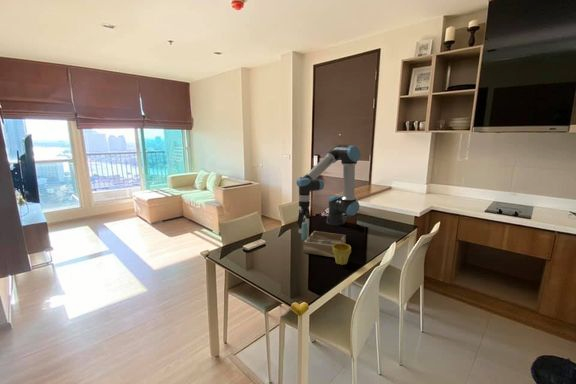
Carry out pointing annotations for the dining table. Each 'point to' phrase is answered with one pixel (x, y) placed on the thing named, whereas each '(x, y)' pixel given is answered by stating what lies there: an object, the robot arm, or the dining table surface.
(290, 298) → the dining table surface
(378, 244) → the dining table surface
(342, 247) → the plant pot
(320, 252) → the box
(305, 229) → the peg
